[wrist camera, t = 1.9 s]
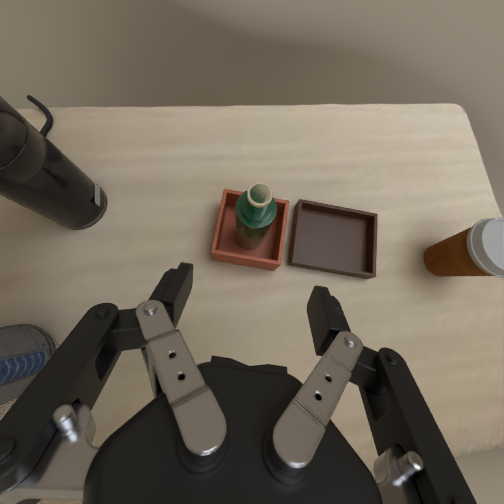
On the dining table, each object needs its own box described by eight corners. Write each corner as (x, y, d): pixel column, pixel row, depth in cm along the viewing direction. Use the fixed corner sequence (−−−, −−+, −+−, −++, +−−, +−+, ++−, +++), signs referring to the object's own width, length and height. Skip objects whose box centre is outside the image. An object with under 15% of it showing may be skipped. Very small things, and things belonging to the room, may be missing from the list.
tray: (288, 265, 43) (292, 262, 40) (295, 205, 46) (299, 198, 43) (367, 279, 44) (375, 277, 41) (369, 219, 47) (377, 213, 44)
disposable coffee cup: (410, 238, 47) (470, 216, 35) (453, 236, 48) (525, 213, 36) (422, 286, 45) (490, 279, 33) (467, 282, 46) (548, 274, 34)
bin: (213, 260, 42) (210, 252, 36) (224, 203, 45) (224, 188, 39) (274, 270, 43) (280, 264, 37) (281, 214, 45) (289, 200, 40)
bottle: (227, 235, 43) (226, 193, 27) (248, 215, 44) (258, 163, 28) (249, 256, 42) (261, 225, 26) (270, 235, 44) (293, 194, 28)
